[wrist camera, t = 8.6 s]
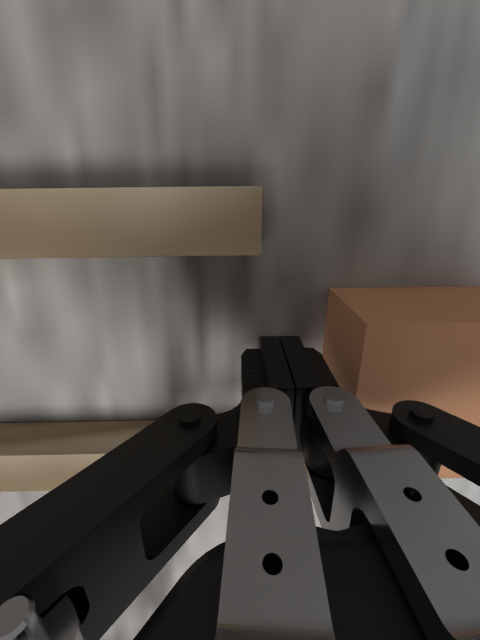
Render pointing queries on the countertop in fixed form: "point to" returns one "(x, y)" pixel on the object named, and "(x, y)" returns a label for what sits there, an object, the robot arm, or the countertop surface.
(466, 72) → the countertop surface
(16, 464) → the chute
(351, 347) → the terracotta block
